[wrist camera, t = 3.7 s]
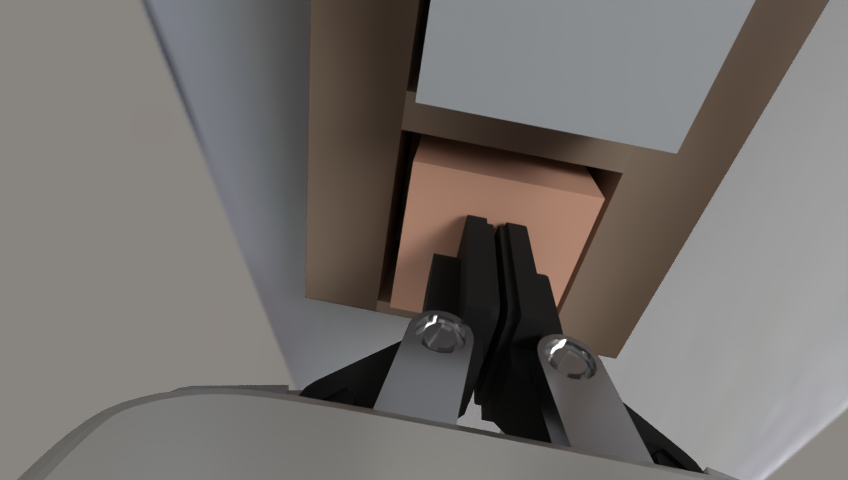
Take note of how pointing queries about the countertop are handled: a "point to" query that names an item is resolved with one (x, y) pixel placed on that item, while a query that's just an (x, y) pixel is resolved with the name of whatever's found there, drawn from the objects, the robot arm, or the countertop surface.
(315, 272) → the key console
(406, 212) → the terracotta key
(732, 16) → the slate key
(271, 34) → the countertop surface
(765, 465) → the countertop surface
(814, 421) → the countertop surface
